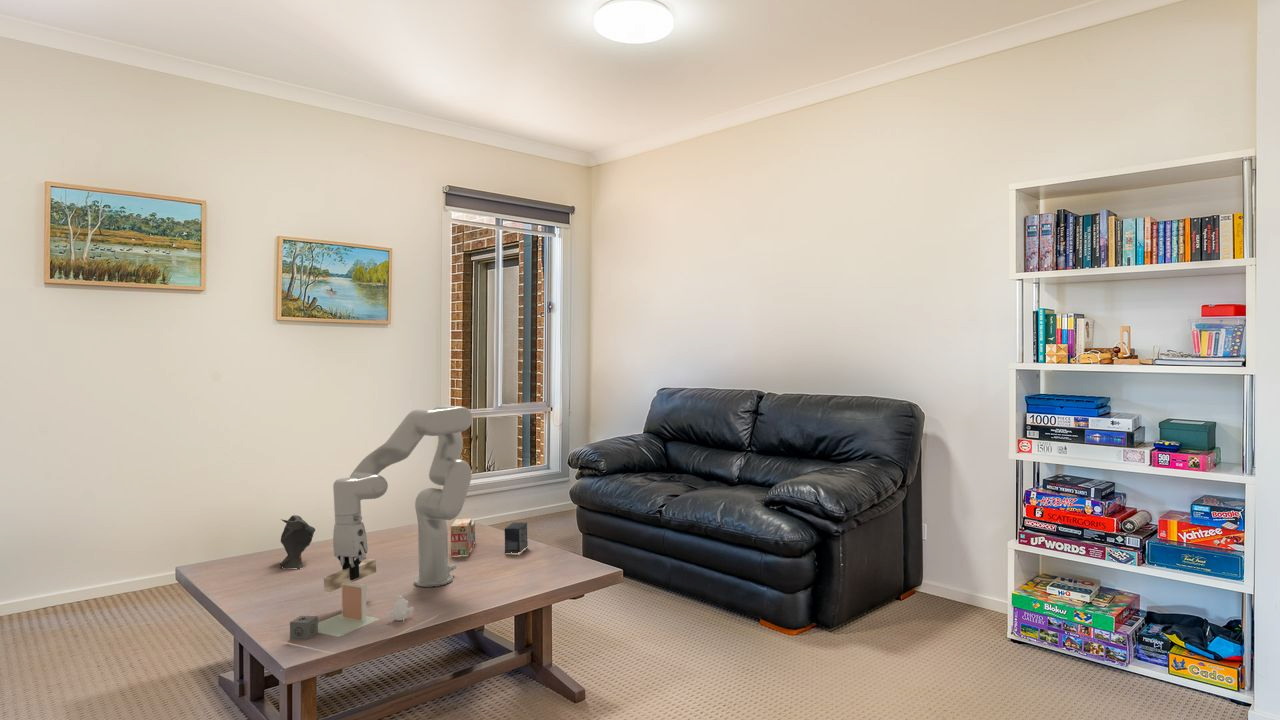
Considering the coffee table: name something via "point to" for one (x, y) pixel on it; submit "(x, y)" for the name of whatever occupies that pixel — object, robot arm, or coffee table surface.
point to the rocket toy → (400, 609)
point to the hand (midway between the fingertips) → (351, 577)
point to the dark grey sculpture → (295, 541)
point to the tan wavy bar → (348, 575)
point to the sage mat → (341, 625)
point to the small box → (516, 537)
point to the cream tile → (354, 601)
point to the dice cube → (304, 627)
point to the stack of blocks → (462, 536)
